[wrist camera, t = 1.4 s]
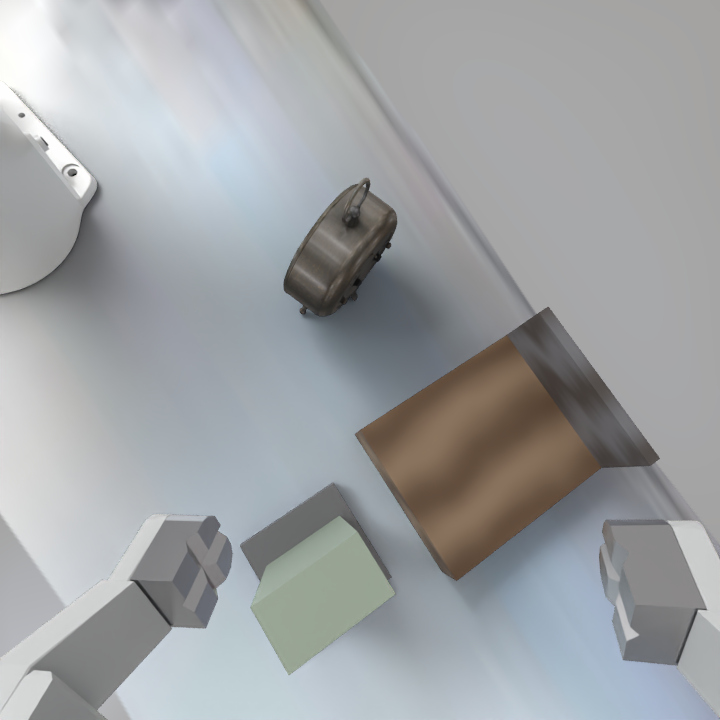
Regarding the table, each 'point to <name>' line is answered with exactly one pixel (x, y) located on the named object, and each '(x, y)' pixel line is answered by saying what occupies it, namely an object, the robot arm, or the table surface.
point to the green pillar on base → (314, 577)
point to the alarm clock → (340, 250)
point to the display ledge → (500, 442)
